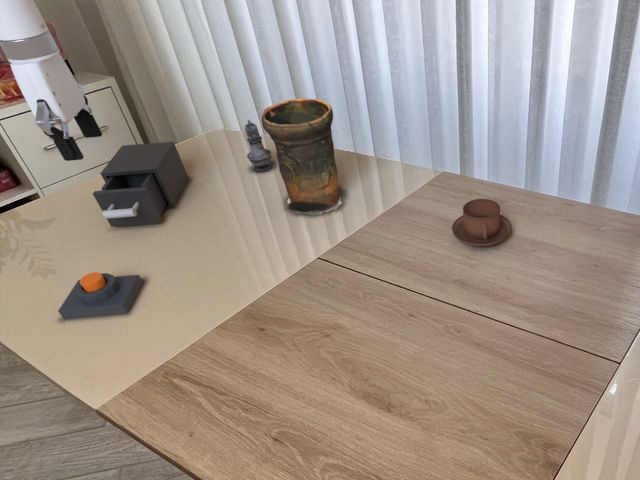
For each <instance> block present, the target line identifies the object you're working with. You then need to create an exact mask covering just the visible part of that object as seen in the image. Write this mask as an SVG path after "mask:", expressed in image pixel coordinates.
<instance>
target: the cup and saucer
mask: <svg viewBox="0 0 640 480" xmlns="http://www.w3.org/2000/svg"><path fill="white" fill-rule="evenodd" d="M451 231H452V234H453V235H454V237H455V238H456V239H457V240H458V241H460V242H461V243H463V244H466V245H468V246H473V247H490V246H494V245H496V244H499V243H501V242H503V241H504V240H506V239H507V238H508V237H509V236H510V234H511V232H512V223H511V221H510V220H509V219H508V218H507V217H505V216H504V215H502V214H501V206H500V204H499V203H498V202H497V201H495V200H493V199H489V198H475V199H472V200H469V201H467V202H465V204H464V205H463V207H462V215H461V216H459V217H457V218H456V219H455V221H454V222H453V223H452V227H451Z"/></svg>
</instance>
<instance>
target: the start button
mask: <svg viewBox="0 0 640 480" xmlns="http://www.w3.org/2000/svg"><path fill="white" fill-rule="evenodd" d="M79 280H80V284H81V285H82V287H83V288H84V290H85V291H87V292H91V291H96V290H98V289H101V288H102V287H104V286H105V285H106V281H105V279H104V277H103V276H102V274H101V272H98V271H95V272H90V273H87V274H85V275H83V276H82V277H81V278H79Z"/></svg>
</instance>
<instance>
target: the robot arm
mask: <svg viewBox="0 0 640 480" xmlns="http://www.w3.org/2000/svg"><path fill="white" fill-rule="evenodd" d="M0 48H1V50H2V52H3V54H4V55H5V57H6V59H7V61H8V62H9V63H10V64H9V66H10V69H11V72H12V74H13V76H14V79H15V82H16V83H17V86H18V88H19V90H20V91H21V94H22V96H23V97H24V99H25V102H26V104H27V105H28V107H29V109H30V110H31V112H32V115H33V117H34V118H35V120H34V123H35V125H36V126H37V127H39V129H40V130H41V131H42V132H43V133H44V135H45V136H47V137H48V138H49V140H50V141H53V144H54V145H55V147H56V148H57V150H58V151H59V153H60V155H61V156H62V158H63V160H64V161H66V162H70V161H80V160H81V161H82V160H83V159H84V158H85V156H84V154H83V152H82V151H81V149H80V147H79V145H78V143H77V141H76V140H75V138H74V136H70V131H69V125H68V123H70V122H71V121H72V120H73V119H74V120H75V122H76V124H77V126H78V129H79V130H80V132H81V133H82V136H83V137H84V138H86V139H88V138H100V137H102V136H103V132H102V131H101V128H100V127H99V125H98V123H97V120H96V118H95V117H94V115H93V111H92V108H91V107H90V106H89V99H88V98H87V96H86V94H85V91H84V87H83V85H82V84H81V83H79V82H77V80H76V78H75V76H74V75H73V73H72V72H71V70H70V68H69V67H68V64H67V62H65V59H64V58H63V57H62V55H61V54H60V53H61V50H60V49H59V47H58V45H57V44H56V41H55V39H54V37H53V35H52V33H51V32H50V29H49V27H48V26H47V24H46V22H45V20H44V18H43V16H42V14H41V12H40V10H39V8H38V6H37V4H36V2H35V0H0ZM56 126H60V129H59V128H57V127H56Z"/></svg>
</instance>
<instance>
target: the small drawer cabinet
mask: <svg viewBox="0 0 640 480" xmlns="http://www.w3.org/2000/svg"><path fill="white" fill-rule="evenodd" d="M143 173H154V174H155V176H156V178H157V180H158V182H159V184H160V187H161V189H162V191H163V193H164V195H165V197H166V200H167V204H166V206H165V208H164V210H170V209H175V207H176V206H177V204H178V202H179V200H180V198H181V196H182V194H183V193H184V191H185V189H186V186H187V185H188V184H189V181H190V178H189V175H188V172H187V169H185V165H184V163H183V161H182V158H181V156H180V154H179V151H178V149H177V146H176V145H175V142H174V141H164V142H149V143H137V144H124V145H123V144H122V145H121V146H120V147H119V149H118V150H117V151H116V153H115V154H114V155H113V157H112V158H111V159H110V160H109V161H108V163H107V164H106V166H105V167H104V168H103V169H102V170H101V172H100V176H101V177H102V179H103V181H104V184H105V183H106V181H107V180H108V179H109V177H110V176H117V175H130V174H143Z"/></svg>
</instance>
